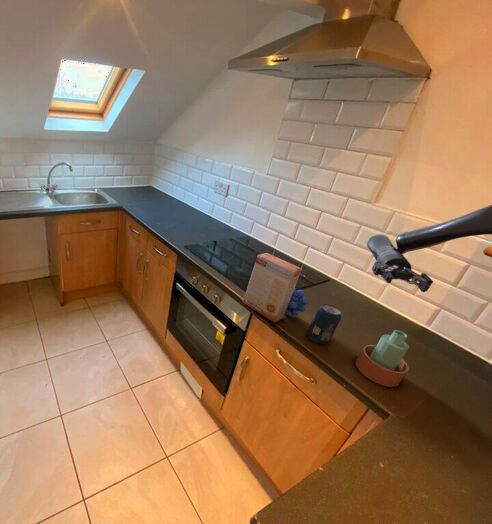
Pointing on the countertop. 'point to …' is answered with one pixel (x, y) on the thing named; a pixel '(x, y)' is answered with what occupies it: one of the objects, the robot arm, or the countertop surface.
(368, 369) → the terracotta bowl
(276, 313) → the cracker box
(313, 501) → the countertop surface
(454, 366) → the countertop surface
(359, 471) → the countertop surface
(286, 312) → the grapes
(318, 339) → the soda can
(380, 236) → the robot arm
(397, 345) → the bottle
